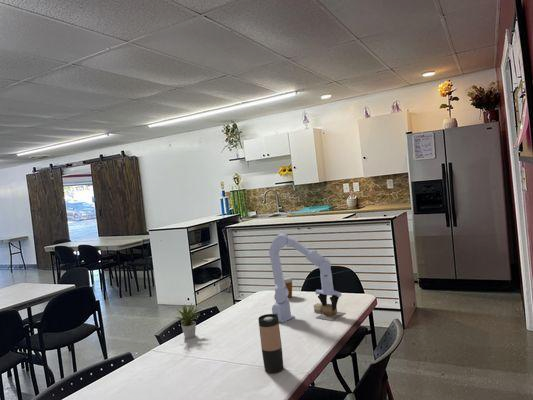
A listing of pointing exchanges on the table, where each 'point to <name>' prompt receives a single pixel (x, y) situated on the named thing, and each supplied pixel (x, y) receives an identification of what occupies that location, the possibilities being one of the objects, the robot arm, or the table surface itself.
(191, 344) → the table surface
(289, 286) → the disposable coffee cup
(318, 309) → the beech block
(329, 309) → the walnut block
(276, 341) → the travel mug
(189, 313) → the house plant
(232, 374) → the table surface
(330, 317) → the grey flat slab
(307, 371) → the table surface
